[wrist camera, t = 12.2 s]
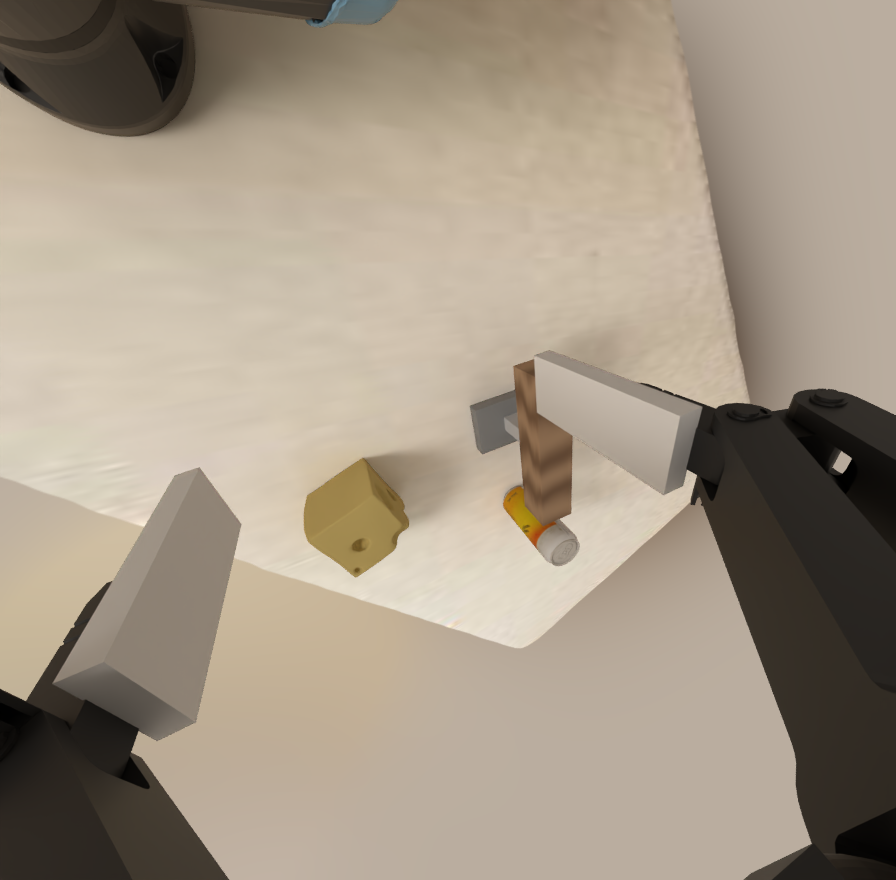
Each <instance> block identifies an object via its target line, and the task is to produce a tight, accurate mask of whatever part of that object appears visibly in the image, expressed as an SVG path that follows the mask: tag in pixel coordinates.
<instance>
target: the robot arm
mask: <svg viewBox="0 0 896 880" xmlns="http://www.w3.org/2000/svg"><path fill="white" fill-rule="evenodd" d="M397 1H398V0H0V84H2V85H3V86H5V87H6V88H7V89H9V90H10V91H12V92H13V93H15V94H16V95H18V96H20V97H21V98H23V99H25V100H26V101H28V102H30V103H31V104H33V105H35V106H36V107H38V108H40V109H42V110H43V111H45V112H47V113H49V114H51V115H52V116H54V117H56V118H58V119H61V120H63V121H65V122H67V123H69V124H72V125H74V126H77V127H80V128H82V129H85V130H89V131H92V132H96V133H101V134H106V135H113V136H137V135H142V134H146V133H150V132H153V131H155V130H158V129H160V128H161V127H163V126H165V125H166V124H168V123H169V122H170V121H171V120H173V119H174V118H175V117H176V116H177V115H178V113H179V112H180V111H181V109H182V108H183V106H184V105H185V103H186V101H187V99H188V96H189V94H190V91H191V88H192V84H193V79H194V72H195V47H194V38H193V32H192V27H191V22H190V19H189V15H188V11H187V8H186V5H190V6H198V7H206V8H214V9H222V10H231V11H239V12H247V13H255V14H263V15H271V16H279V17H288V18H296V19H304V20H306V22H307V24H309V25H311V26H314V27H319V28H322V27H325V26H327V25H330V24H332V23H346V24H363V25H369V24H373V23H376V22H378V21H379V20H380V19H381V18H382V17H383V16H385V15H386V13H388V12H390V11H391V10H392V9H393V7H394V6H395V4H396V3H397ZM534 365H535V385H536V404H537V413H538V414H540V415H542V416H543V417H545V418H546V419H548V420H549V421H551V422H552V423H554V424H555V425H557V426H558V427H560V428H561V429H563V430H564V431H566V432H568V433H569V434H571V435H572V436H574V437H575V438H577V439H578V440H580V441H581V442H583V443H584V444H586V445H587V446H589V447H591V448H592V449H594V450H595V451H597V452H598V453H600V454H601V455H603V456H604V457H606V458H607V459H609V460H610V461H612V462H613V463H615V464H617V465H618V466H620V467H621V468H623V469H624V470H626V471H627V472H629V473H630V474H632V475H633V476H635V477H636V478H638V479H639V480H641V481H643V482H644V483H646V484H647V485H649V486H650V487H652V488H653V489H655V490H656V491H658V492H659V493H661V494H662V495H665V494H667V493H669V492H671V491H673V490H675V489H677V488H680V487H682V486H683V484H684V480H685V476H686V472H687V470H689V471H691V472H693V473H695V474H696V475H697V478H696V482H695V485H694V489H693V493H692V496H691V505H695V503H696V500H697V498H698V497H700V498H701V501H702V504H701V505H702V506H703V507H704V509H705V512H706V515H707V517H708V520H709V523H710V525H711V528H712V531H713V534H714V536H715V539H716V541H717V544H718V547H719V550H720V552H721V555H722V557H723V560H724V563H725V566H726V568H727V571H728V574H729V576H730V579H731V581H732V584H733V587H734V590H735V592H736V595H737V598H738V601H739V603H740V606H741V609H742V611H743V614H744V616H745V619H746V622H747V625H748V627H749V630H750V633H751V635H752V638H753V641H754V643H755V646H756V649H757V651H758V654H759V656H760V659H761V662H762V665H763V667H764V670H765V673H766V675H767V678H768V681H769V683H770V686H771V688H772V692H773V694H774V697H775V700H776V702H777V705H778V708H779V710H780V713H781V715H782V718H783V720H784V724H785V726H786V729H787V732H788V734H789V737H790V740H791V742H792V745H793V749H794V752H795V758H796V790H797V796H798V802H799V805H800V809H801V812H802V816H803V819H804V822H805V825H806V828H807V831H808V834H809V836H810V839H811V842H812V844H811V845H808V846H807V847H804V848H803V849H800V850H798V851H796V852H794V853H792V854H790V855H788V856H786V857H784V858H782V859H780V860H778V861H776V862H773V863H771V864H770V865H768V866H765V867H763V868H761V869H759V870H757V871H755V872H753V873H751V874H750V875H749V876H748V877H746V878H745V879H744V880H896V415H894V414H891V413H890V412H888V411H886V410H883V409H881V408H879V407H877V406H875V405H873V404H871V403H869V402H867V401H865V400H862V399H860V398H858V397H855V396H853V395H850V394H847V393H843V392H838V391H836V390H832V389H828V390H826V389H816V390H804V391H800V392H798V393H796V394H795V395H794V396H793V399H792V401H791V404H790V406H789V409H784V410H778V411H771V410H769V409H766V408H764V407H761V406H757V405H752V404H744V403H732V404H725V405H722V406H719V407H718V408H717V409H715V408H713V407H710V406H707V405H704V404H702V403H699V402H696V401H693V400H691V399H688V398H685V397H682V396H680V395H677V394H676V395H674V394H673V393H671V392H668V391H666V390H664V391H662V389H660V388H657V387H655V386H652V385H649V384H644V383H638V382H634V381H631V380H629V379H626V378H623V377H620V376H618V375H615V374H612V373H610V372H607V371H604V370H601V369H599V368H596V367H593V366H591V365H588V364H585V363H582V362H580V361H577V360H574V359H572V358H569V357H566V356H564V355H561V354H558V353H555V352H553V351H550V350H549V351H546V352H543V353H540V354H537V355H534ZM841 451H843V452H844V453H845V454H847V455H848V456H850V457H851V458H852V460H851V462H850V463H849V465H848V467H847V469H846V470H845V471H844V473H843V474H842V473H840V472H838V471H836V470H835V469H834V468H832V467H833V465H834V463H835V462H836V460H837V458H838V456H839V454H840V452H841ZM240 528H241V523H240V522H239V520H238V519H237V518H236V516H235V515H234V514H233V512H232V511H231V509H230V508H229V507H228V505H227V504H226V503H225V501H224V500H223V499H222V497H221V496H220V495H219V493H218V492H217V490H216V489H215V488H214V486H213V485H212V484H211V482H210V481H209V480H208V478H207V477H206V476H205V474H204V473H203V471H202V470H201V469H200V467H199V468H196V469H193V470H190V471H187V472H184V473H181V474H178V475H175V476H174V478H173V479H172V481H171V483H170V485H169V486H168V488H167V490H166V491H165V493H164V495H163V496H162V498H161V500H160V502H159V503H158V505H157V507H156V508H155V510H154V512H153V513H152V515H151V517H150V519H149V520H148V522H147V524H146V525H145V527H144V529H143V531H142V532H141V534H140V536H139V537H138V539H137V541H136V542H135V544H134V546H133V548H132V549H131V551H130V553H129V554H128V556H127V558H126V559H125V561H124V563H123V564H122V566H121V568H120V570H119V571H118V573H117V575H116V576H115V578H114V580H113V581H111V582H108V583H106V584H105V585H104V586H103V587H102V589H101V590H100V591H99V592H98V593H97V594H96V595H95V596H94V597H93V598H92V599H91V600H90V601H89V602H88V603H87V604H86V606H85V607H84V609H83V611H82V612H81V614H80V615H79V617H78V619H77V620H76V622H75V623H74V625H75V627H74V628H71V630H70V631H69V633H68V635H67V636H66V638H65V639H64V641H63V642H64V645H62V646H60V647H59V649H58V651H57V652H56V654H55V656H54V657H53V659H52V660H51V662H50V663H49V665H48V667H47V668H46V670H45V671H44V673H43V675H42V676H41V678H40V680H39V681H38V683H37V684H36V686H35V687H34V689H33V691H32V692H31V694H30V695H29V697H28V699H27V700H26V701H24V700H22V699H20V698H18V697H16V696H14V695H12V694H10V693H8V692H6V691H3V690H1V689H0V880H229V879H228V878H227V876H226V875H225V873H224V872H223V871H222V869H221V868H220V867H219V865H218V864H217V862H216V861H215V860H214V858H213V857H212V855H211V854H210V853H209V851H208V850H207V848H206V847H205V845H204V844H203V843H202V841H201V840H200V838H199V837H198V836H197V834H196V833H195V832H194V830H193V829H192V827H191V826H190V825H189V824H188V822H187V820H186V819H185V818H184V816H183V815H182V813H181V812H180V811H179V809H178V808H177V806H176V805H175V804H174V802H173V801H172V800H171V798H170V797H169V795H168V794H167V793H166V791H165V790H164V788H163V787H162V786H161V784H160V783H159V781H158V780H157V779H156V777H155V776H154V775H153V773H152V772H151V770H150V769H149V768H148V766H147V765H146V763H145V762H144V761H143V759H142V758H141V757H139V756H137V755H135V754H133V753H131V751H132V748H133V745H134V742H135V739H136V736H137V734H138V731H140V732H142V733H143V734H145V735H147V736H149V737H151V738H153V739H154V740H156V741H158V740H160V739H162V738H165V737H167V736H168V735H171V734H173V733H175V732H177V731H179V730H181V729H183V728H185V727H187V726H189V725H191V724H193V723H195V722H196V720H197V715H198V711H199V707H200V702H201V698H202V693H203V689H204V684H205V680H206V676H207V672H208V667H209V663H210V659H211V654H212V650H213V645H214V641H215V637H216V632H217V628H218V623H219V619H220V615H221V610H222V606H223V602H224V597H225V593H226V588H227V584H228V580H229V576H230V571H231V567H232V563H233V558H234V554H235V550H236V545H237V541H238V537H239V532H240Z"/></svg>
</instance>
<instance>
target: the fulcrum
mask: <svg viewBox="0 0 896 880" xmlns="http://www.w3.org/2000/svg"><path fill="white" fill-rule="evenodd" d="M470 409H471V415H472V421H473V427H474V433H475V439H476V445H477V449H478V450H479V451H480V452H481V453H482V454H484V453H487V452H489V451H492V450H495V449H497V448H500V447H502V446H505V445H507V444H510V443H512V442H515V441H519V442H520V440H519V428H518V416H517V404H516V392H515V390H514V391H511V392H508V393H505V394H502V395H500V396H497V397H494V398H491V399H488V400H486V401H483V402H480V403H477V404H474V405H471V406H470Z"/></svg>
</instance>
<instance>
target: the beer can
mask: <svg viewBox="0 0 896 880" xmlns="http://www.w3.org/2000/svg"><path fill="white" fill-rule="evenodd" d="M503 506H504V509H505V510H506V511H507V513H508V514H509V515H510V516H511V518H512V519H513V520H514V521H515V523H516V524H517V525H518V526H519V527H520V529H521V530H522V531H523V532H524V534H525V535H526V536H527V537H528V539H529V540H530V541H531V542H532V543H533V545H534V546H535V547H536V548H537V550H538V551H539V552H540V553H541V555H542V556H543V557H544V558H545V560H546V561H547V562H550V563H552V564H553V565H555V566H562V565H564V564H566V563H568V562H570V561H571V560H572V559H573V558H574V557H575V556H576V554H577V553H578V551H579V547H580V545H579V542H578V540H577V537H576V535H575V534H574V533H573V532H572V531H571V530H570V529H569V528H568V527H567V526H566V525H565V524H564V523H563V522H562V521H561V520H560V519H558V520H556V521H554V522H552V523H549V524H547V525H545V526H542V525H541V523H540V522H539V521H538V520H537V519H536V518H535V517H534V516H533V515H532V513H531V512H530V511H529V510H528V509H527V508H526V507H525V501H524V489H523V486H516V487H514V488H512V489H510V490H509V491H508V492H507V493H506V495H505V497H504V502H503Z"/></svg>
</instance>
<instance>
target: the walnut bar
mask: <svg viewBox="0 0 896 880" xmlns="http://www.w3.org/2000/svg"><path fill="white" fill-rule="evenodd" d="M513 367H514V380H515V392H516V404H517V416H518V428H519V440H520V452H521V464H522V477H523V489H524V501H525V507H526V508H527V509H528V510H529V511H530V512H531V513H532V515H533V516H534V517H535V518H536V519H537V520H538V521H539V522H540V523H541V525H542V526H545V525H547V524H549V523H552V522H554V521H556V520H558V519H560V518H562V517H565V516H567V515H569V514H571V490H572V435H571V434H569V433H568V432H566V431H564V430H563V429H561V428H560V427H558V426H557V425H555V424H554V423H552V422H551V421H549V420H548V419H546V418H545V417H543V416H542V415H540V414H538V413H537V404H536V385H535V365H534V359H533V360H530V361H527V362H524V363H521V364H518V365H515V366H513Z"/></svg>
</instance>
